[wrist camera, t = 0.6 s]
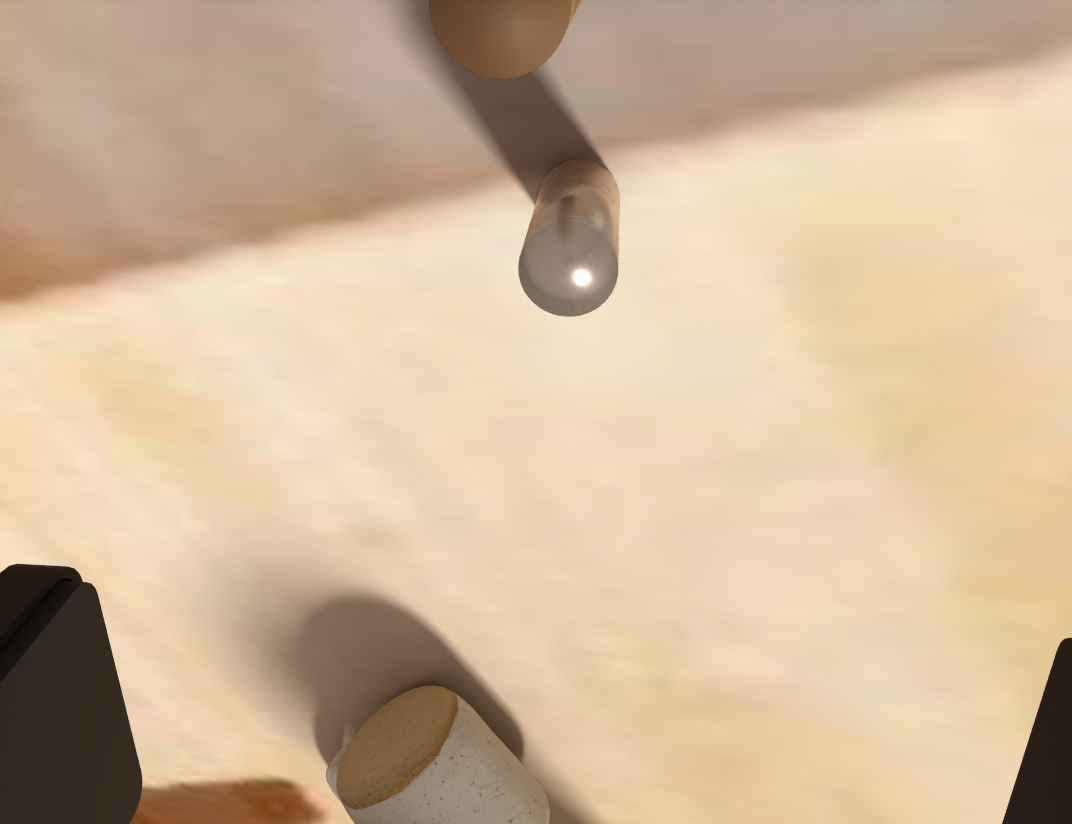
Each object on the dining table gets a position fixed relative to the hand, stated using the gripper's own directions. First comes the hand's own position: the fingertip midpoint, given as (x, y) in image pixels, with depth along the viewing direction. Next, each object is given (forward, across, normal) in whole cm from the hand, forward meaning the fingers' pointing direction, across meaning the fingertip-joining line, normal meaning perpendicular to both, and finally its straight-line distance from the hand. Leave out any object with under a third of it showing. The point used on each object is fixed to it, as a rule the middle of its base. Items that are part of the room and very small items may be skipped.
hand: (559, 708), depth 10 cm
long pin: (+29, +2, -5) cm, 30 cm away
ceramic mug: (+29, +8, +31) cm, 44 cm away
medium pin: (+29, +1, +3) cm, 29 cm away
